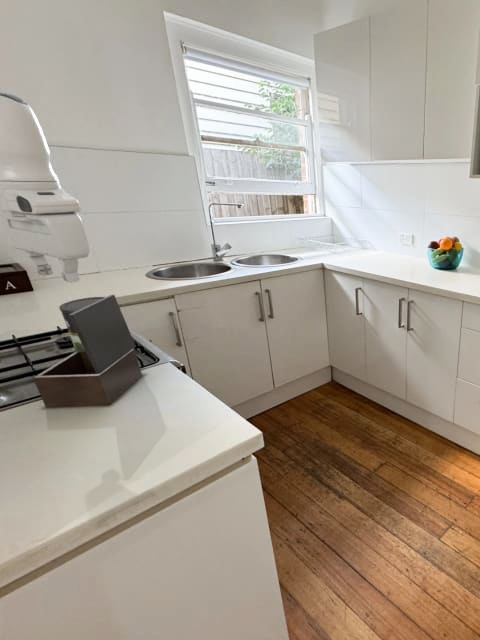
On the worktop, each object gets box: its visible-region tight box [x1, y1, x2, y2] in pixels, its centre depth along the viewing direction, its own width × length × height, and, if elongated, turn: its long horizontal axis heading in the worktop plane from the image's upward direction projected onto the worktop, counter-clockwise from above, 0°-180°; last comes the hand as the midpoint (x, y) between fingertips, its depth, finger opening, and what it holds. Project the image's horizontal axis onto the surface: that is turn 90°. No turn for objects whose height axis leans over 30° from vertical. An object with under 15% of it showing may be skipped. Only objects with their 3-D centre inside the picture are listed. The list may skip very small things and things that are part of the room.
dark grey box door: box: [68, 294, 137, 374], centre depth 77 cm, size 12×13×1 cm
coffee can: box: [58, 296, 106, 352], centre depth 94 cm, size 10×10×14 cm
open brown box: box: [32, 348, 143, 409], centre depth 80 cm, size 12×13×7 cm
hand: (58, 277), depth 71 cm, fingers open, 8 cm apart
